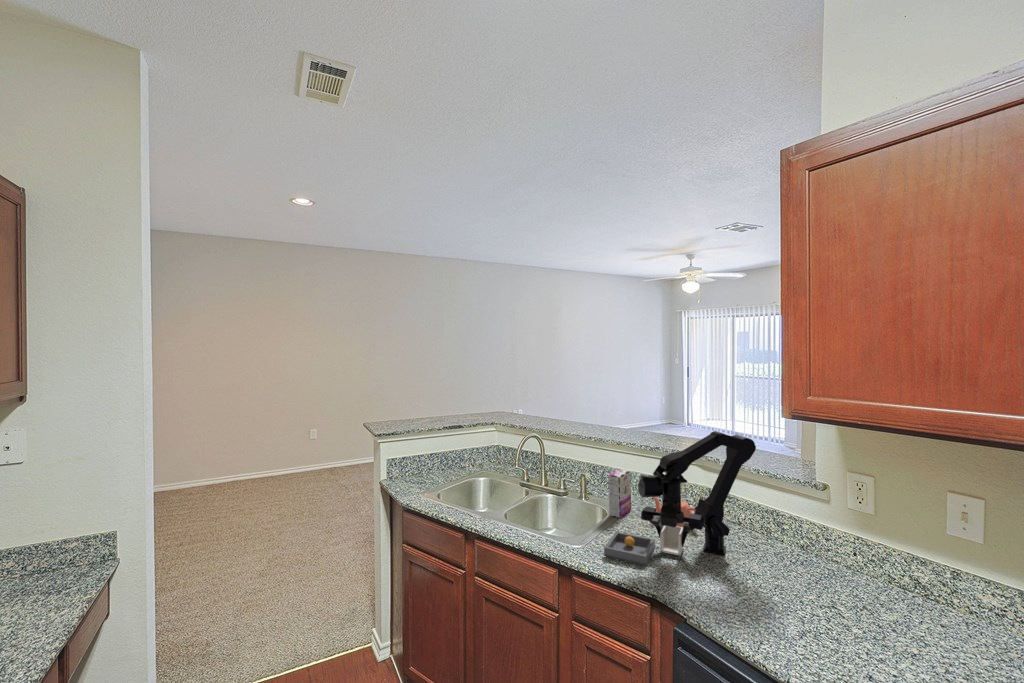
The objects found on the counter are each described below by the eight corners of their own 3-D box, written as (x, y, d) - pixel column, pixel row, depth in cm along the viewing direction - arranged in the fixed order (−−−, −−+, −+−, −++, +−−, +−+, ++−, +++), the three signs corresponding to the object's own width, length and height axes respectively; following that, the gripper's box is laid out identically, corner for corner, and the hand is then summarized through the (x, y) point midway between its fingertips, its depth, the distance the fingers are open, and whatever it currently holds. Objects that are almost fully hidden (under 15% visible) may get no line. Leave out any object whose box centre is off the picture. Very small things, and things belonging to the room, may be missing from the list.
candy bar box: (620, 507, 184) (619, 468, 185) (631, 510, 181) (631, 470, 182) (608, 516, 176) (608, 474, 176) (620, 518, 173) (619, 476, 173)
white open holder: (664, 542, 149) (664, 524, 149) (683, 545, 146) (683, 527, 146) (660, 551, 142) (660, 532, 142) (680, 555, 139) (680, 536, 139)
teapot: (693, 535, 157) (693, 508, 157) (645, 522, 169) (644, 497, 169) (704, 524, 166) (704, 499, 166) (657, 513, 178) (657, 489, 178)
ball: (621, 543, 146) (624, 542, 149) (630, 549, 144) (632, 548, 147) (626, 534, 146) (628, 533, 149) (634, 540, 144) (637, 539, 147)
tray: (616, 540, 153) (616, 531, 153) (654, 548, 147) (654, 539, 147) (604, 557, 141) (604, 547, 141) (645, 566, 135) (645, 556, 135)
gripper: (637, 498, 142) (637, 547, 142) (699, 508, 133) (700, 560, 133) (644, 489, 152) (645, 534, 151) (703, 497, 143) (704, 546, 143)
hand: (672, 543), depth 144 cm, fingers closed on white open holder, 6 cm apart
